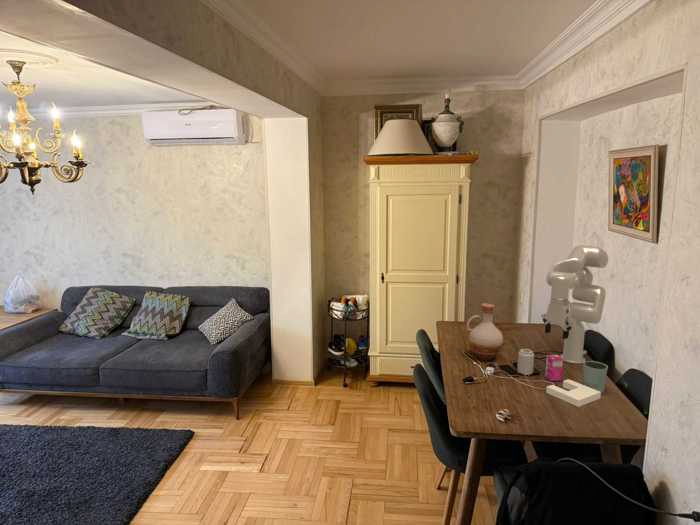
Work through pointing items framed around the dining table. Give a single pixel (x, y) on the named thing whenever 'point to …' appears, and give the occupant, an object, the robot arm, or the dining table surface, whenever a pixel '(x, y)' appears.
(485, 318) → the jug
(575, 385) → the notched board
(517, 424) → the dining table surface
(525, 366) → the can
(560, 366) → the supplement box
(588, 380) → the grey-green cup
